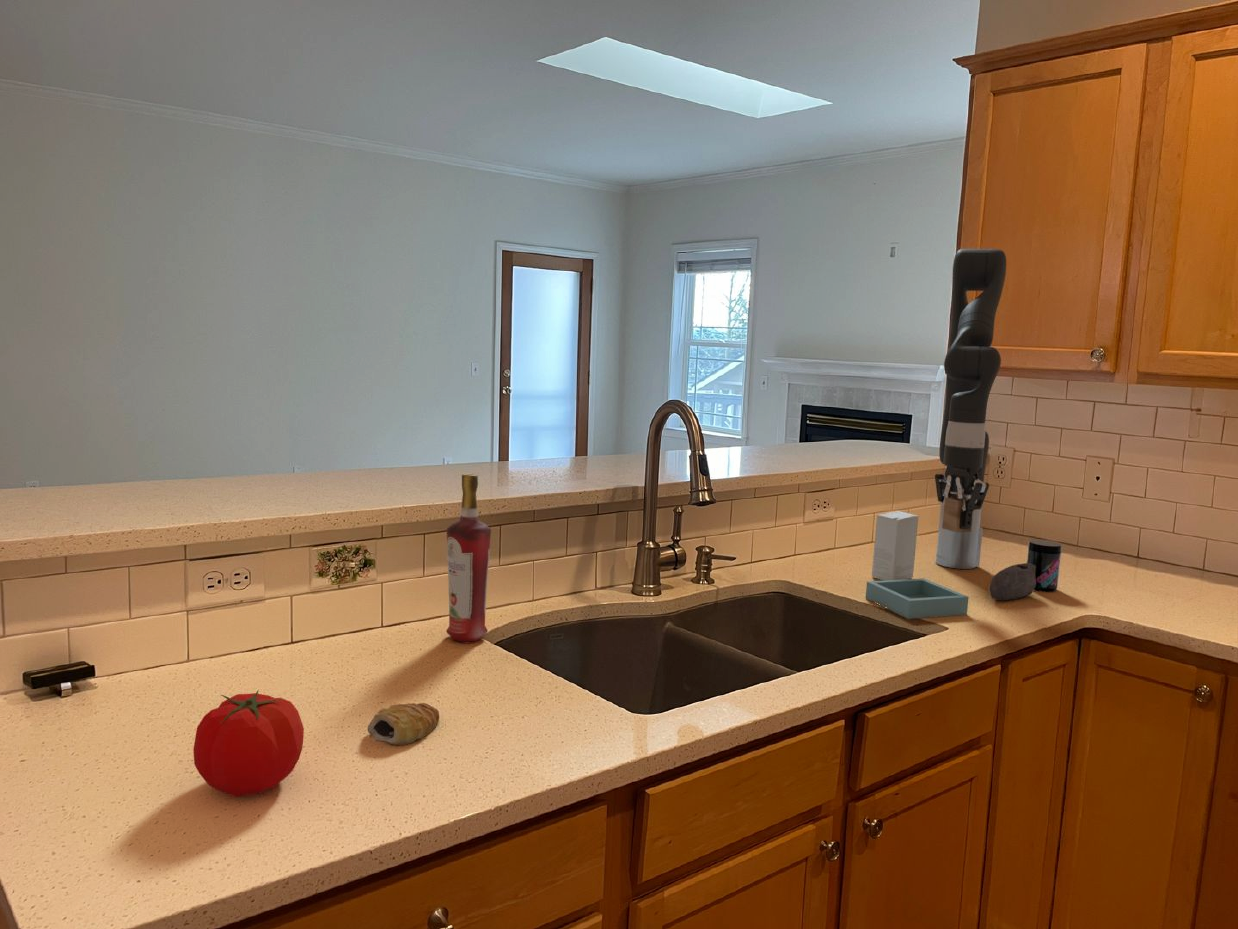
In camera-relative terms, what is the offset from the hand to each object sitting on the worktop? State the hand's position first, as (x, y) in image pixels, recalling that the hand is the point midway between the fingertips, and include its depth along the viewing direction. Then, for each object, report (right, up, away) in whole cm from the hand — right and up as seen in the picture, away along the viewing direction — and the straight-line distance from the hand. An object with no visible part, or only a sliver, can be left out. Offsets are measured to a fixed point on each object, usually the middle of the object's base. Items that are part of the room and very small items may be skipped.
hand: (956, 526), depth 188 cm
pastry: (-98, -22, -71) cm, 123 cm away
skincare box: (-8, -13, +18) cm, 24 cm away
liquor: (-96, -17, -34) cm, 103 cm away
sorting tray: (-10, -16, -4) cm, 19 cm away
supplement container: (+24, -15, +14) cm, 32 cm away
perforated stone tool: (+13, -16, +5) cm, 21 cm away
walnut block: (0, -1, 0) cm, 1 cm away
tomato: (-111, -24, -86) cm, 143 cm away
